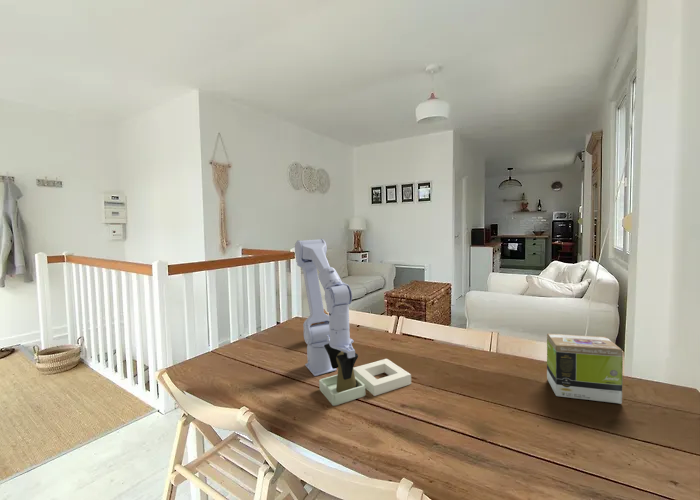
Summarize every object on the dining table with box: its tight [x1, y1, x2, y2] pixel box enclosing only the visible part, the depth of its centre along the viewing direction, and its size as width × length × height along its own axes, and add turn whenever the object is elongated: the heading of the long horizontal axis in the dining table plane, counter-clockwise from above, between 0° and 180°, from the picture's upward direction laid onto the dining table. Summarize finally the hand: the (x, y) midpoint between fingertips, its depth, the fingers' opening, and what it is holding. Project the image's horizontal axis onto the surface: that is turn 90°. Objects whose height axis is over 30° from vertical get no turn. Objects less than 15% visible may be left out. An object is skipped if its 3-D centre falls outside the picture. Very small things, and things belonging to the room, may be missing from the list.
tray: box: [318, 373, 366, 407], centre depth 94 cm, size 10×10×3 cm
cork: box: [336, 351, 357, 393], centre depth 94 cm, size 6×6×11 cm
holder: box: [353, 358, 412, 397], centre depth 100 cm, size 13×13×3 cm
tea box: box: [546, 333, 624, 405], centre depth 89 cm, size 15×10×15 cm, turn 71°
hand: (341, 372), depth 93 cm, fingers open, 7 cm apart
